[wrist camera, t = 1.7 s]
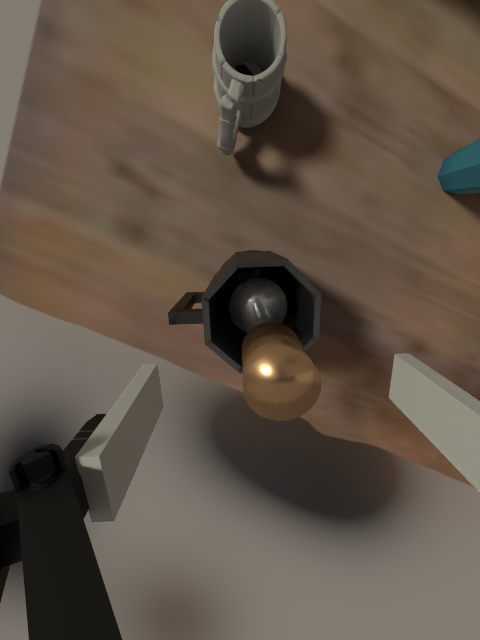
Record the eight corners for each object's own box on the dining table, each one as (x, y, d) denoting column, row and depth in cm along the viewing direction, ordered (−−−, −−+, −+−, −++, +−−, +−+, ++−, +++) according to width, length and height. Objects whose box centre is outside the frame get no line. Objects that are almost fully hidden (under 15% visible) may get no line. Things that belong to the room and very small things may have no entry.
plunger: (286, 276, 30) (349, 326, 13) (285, 331, 32) (339, 437, 15) (228, 278, 30) (216, 331, 13) (230, 333, 32) (223, 441, 15)
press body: (291, 248, 38) (324, 256, 24) (290, 324, 41) (318, 370, 27) (187, 252, 38) (157, 262, 24) (194, 328, 41) (171, 376, 27)
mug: (288, 71, 32) (316, -21, 21) (252, 175, 35) (260, 146, 24) (227, 43, 31) (222, -70, 20) (196, 152, 34) (176, 110, 23)
